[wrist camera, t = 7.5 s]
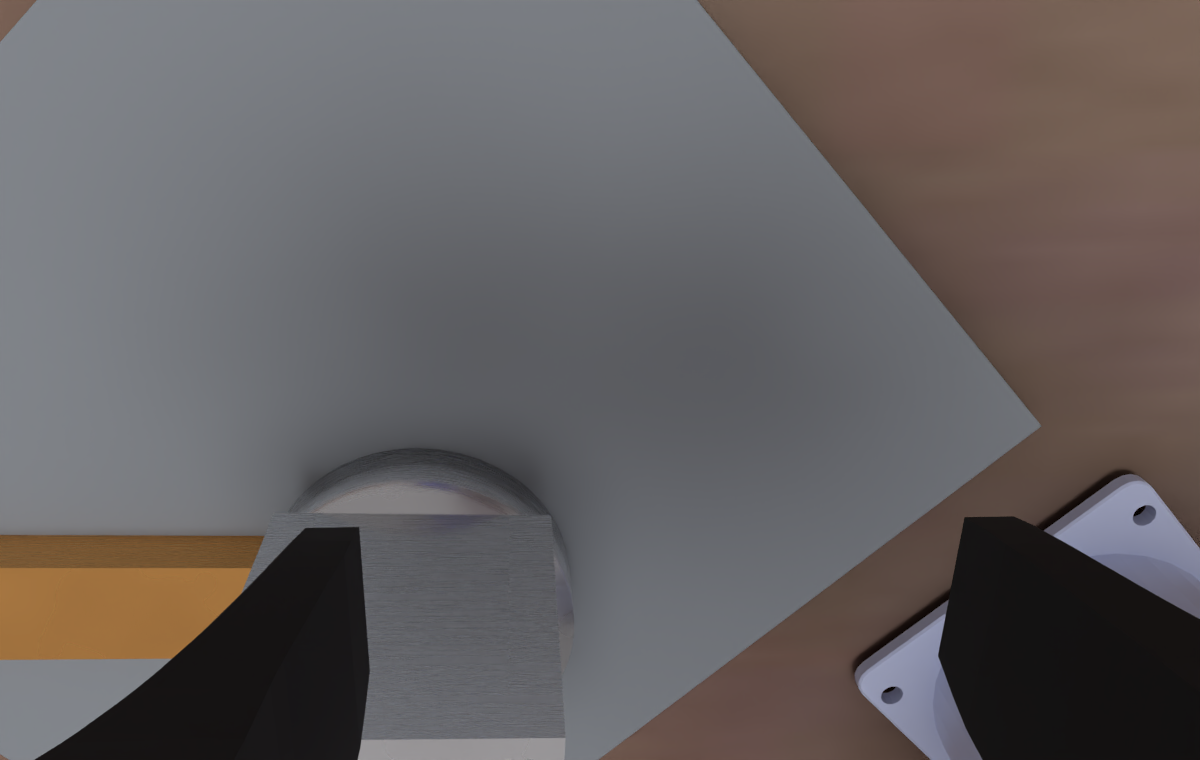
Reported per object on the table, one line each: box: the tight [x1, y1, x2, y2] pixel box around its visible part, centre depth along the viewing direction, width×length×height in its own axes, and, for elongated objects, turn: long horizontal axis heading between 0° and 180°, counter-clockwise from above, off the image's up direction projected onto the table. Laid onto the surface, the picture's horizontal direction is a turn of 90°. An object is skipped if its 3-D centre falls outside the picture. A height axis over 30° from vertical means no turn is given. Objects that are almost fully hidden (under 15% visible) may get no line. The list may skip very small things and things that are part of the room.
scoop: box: [0, 448, 574, 674], centre depth 20 cm, size 14×6×5 cm, turn 87°
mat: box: [0, 0, 1041, 760], centre depth 21 cm, size 19×22×1 cm
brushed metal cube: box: [242, 513, 566, 760], centre depth 18 cm, size 5×5×6 cm
